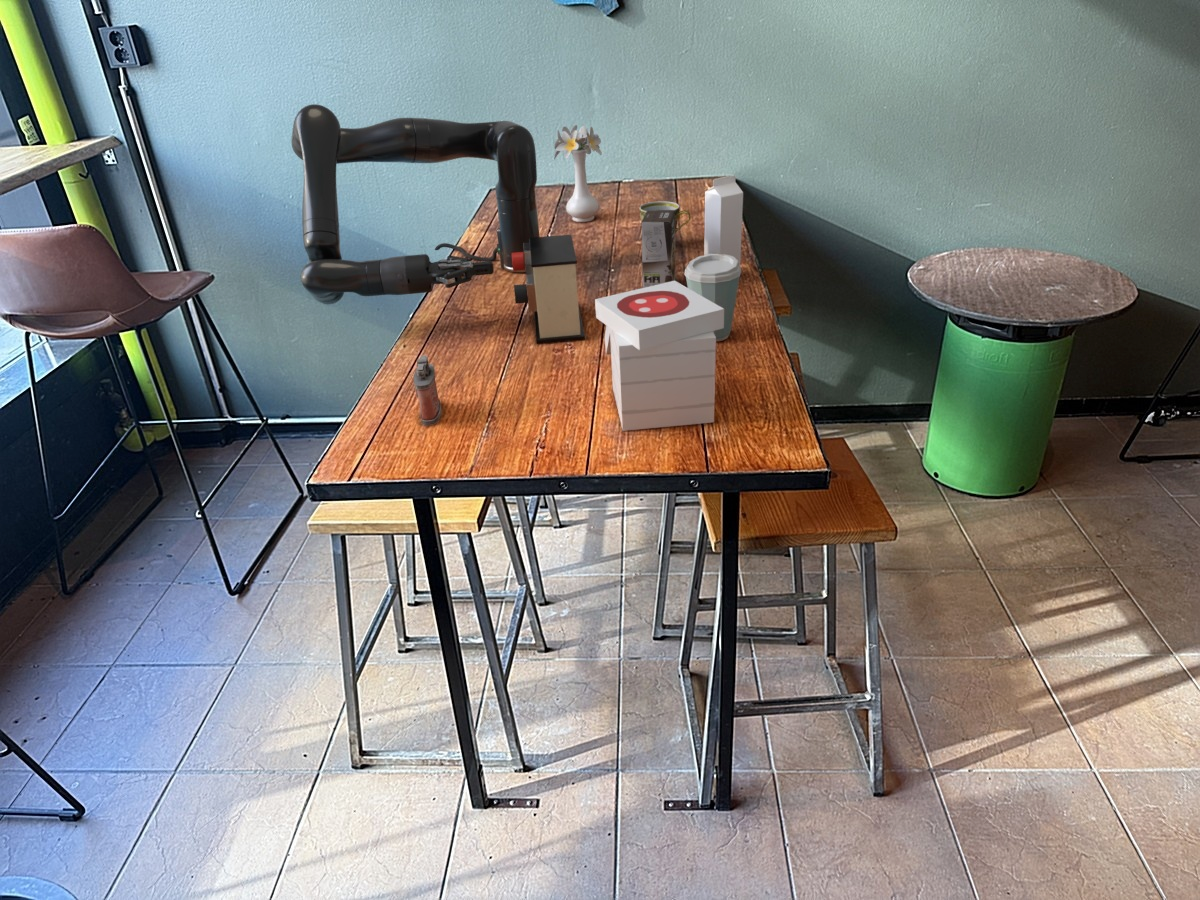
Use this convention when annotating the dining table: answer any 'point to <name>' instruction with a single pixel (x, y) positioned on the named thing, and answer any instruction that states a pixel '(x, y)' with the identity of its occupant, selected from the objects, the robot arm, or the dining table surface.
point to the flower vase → (579, 170)
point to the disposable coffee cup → (716, 284)
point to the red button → (518, 261)
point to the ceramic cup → (663, 206)
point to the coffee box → (658, 247)
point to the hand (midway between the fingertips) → (493, 267)
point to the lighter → (427, 391)
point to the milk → (723, 218)
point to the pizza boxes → (661, 354)
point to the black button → (520, 293)
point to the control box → (553, 288)
